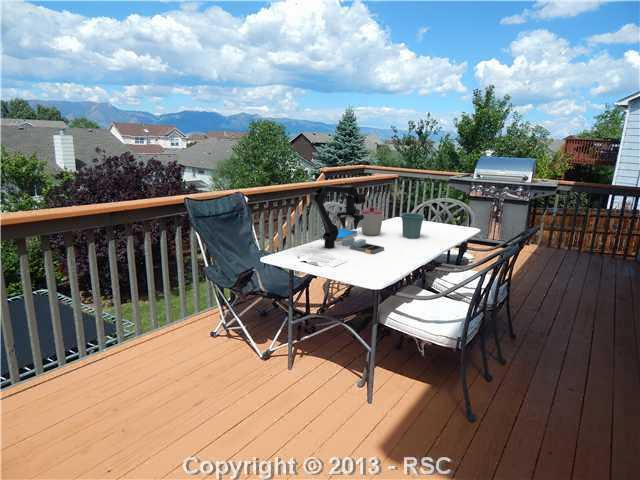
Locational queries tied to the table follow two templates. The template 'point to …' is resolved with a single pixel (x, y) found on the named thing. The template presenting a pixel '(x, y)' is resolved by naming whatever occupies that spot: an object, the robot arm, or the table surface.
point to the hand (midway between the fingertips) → (349, 228)
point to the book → (344, 234)
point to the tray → (323, 260)
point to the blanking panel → (348, 241)
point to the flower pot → (412, 224)
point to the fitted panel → (360, 242)
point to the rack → (368, 248)
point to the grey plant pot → (371, 221)
